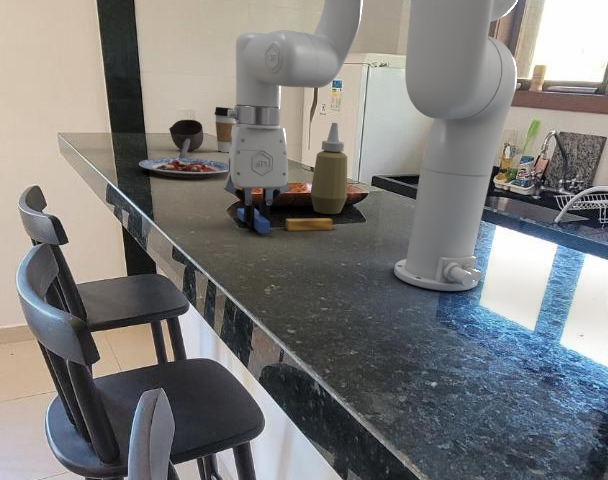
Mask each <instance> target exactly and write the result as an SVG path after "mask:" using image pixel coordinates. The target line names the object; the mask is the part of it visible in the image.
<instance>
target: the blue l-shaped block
mask: <svg viewBox="0 0 608 480" xmlns="http://www.w3.org/2000/svg"><path fill="white" fill-rule="evenodd" d="M236 217H237V218H238V219H239V220H240V221H241V222H242V223H246V222H245V221H244V207H243V208H237V209H236ZM270 227H271V222H270V220H269V221H268V220H267V219H265V218H264V217H263V216H262V215H260V214H259V210H258V209H256V208H255V217H254V227H253V228H254V229H255V230H256V231H257V232H258V233H259V234H270V230H271V228H270Z"/></svg>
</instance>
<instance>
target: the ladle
mask: <svg viewBox="0 0 608 480" xmlns="http://www.w3.org/2000/svg"><path fill="white" fill-rule="evenodd" d="M168 130H169V134H170V136H171V140H172V142H173V144H174V145H175V146H176V147H177V149H179V150H181V151H180V153H179V156H178V158H187V156H188V152H193V151H196V150H198V149H199V148H200V147H201V146H202V145H203V143H204V130H203V124H202V123H201V122H200V121H198V120H195V119H180V120H177V121H176V122H174V124H172V126H170V127H169V128H168Z"/></svg>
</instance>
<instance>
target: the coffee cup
mask: <svg viewBox="0 0 608 480" xmlns="http://www.w3.org/2000/svg"><path fill="white" fill-rule="evenodd" d="M228 109H232V108H230V107H222V106H215V111H214V115H215V132H216V142H217V152H218V151H221V152H220V153H223V152H229V146H230V138H231V131H232V126H233V125H236V122H235V120H234V119H233V118H228ZM222 149H223V150H222Z"/></svg>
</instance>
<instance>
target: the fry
mask: <svg viewBox="0 0 608 480" xmlns="http://www.w3.org/2000/svg"><path fill="white" fill-rule="evenodd" d="M333 222H334V220H333V219H332V218H330V217H325V218H323V217H321V218H319V217H318V218H315V217H314V218H285V228H284V229H285V230H287V231H290V232H291V231H331V230H333V224H334V223H333Z"/></svg>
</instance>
